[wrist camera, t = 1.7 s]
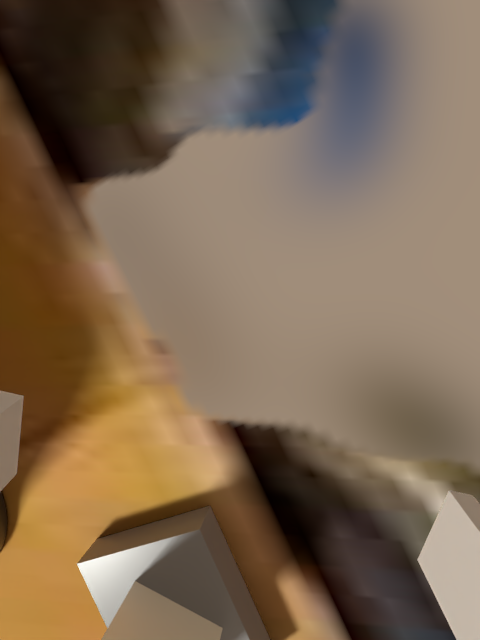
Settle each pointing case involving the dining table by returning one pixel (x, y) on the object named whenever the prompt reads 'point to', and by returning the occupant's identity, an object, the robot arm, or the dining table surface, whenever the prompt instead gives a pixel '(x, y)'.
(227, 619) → the plate
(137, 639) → the block
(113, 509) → the dining table surface
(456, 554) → the robot arm
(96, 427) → the dining table surface
